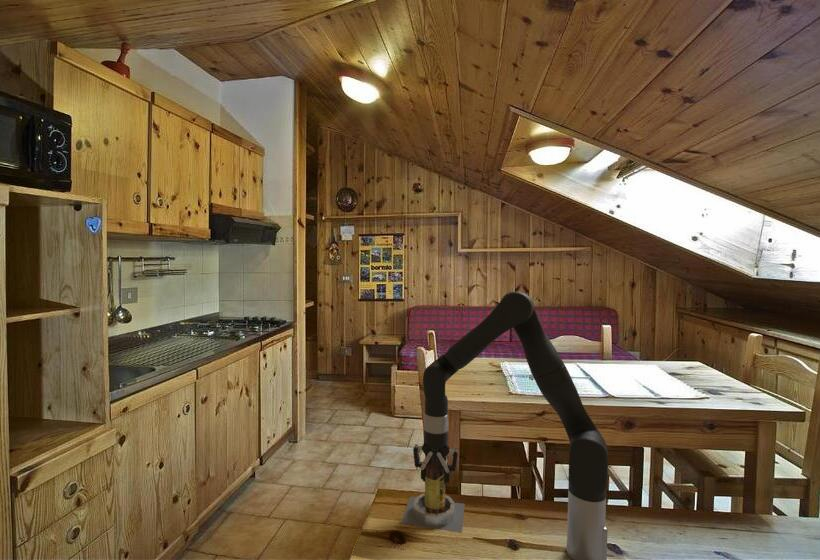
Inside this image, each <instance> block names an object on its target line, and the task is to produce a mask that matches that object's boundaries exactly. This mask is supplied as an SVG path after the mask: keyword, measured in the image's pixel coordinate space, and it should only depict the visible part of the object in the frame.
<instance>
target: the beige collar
mask: <svg viewBox="0 0 820 560" xmlns="http://www.w3.org/2000/svg"><path fill="white" fill-rule="evenodd" d="M415 497H416V498H415V501H414V504H413V514H414V516H415V518H416V519H417V521H419V522H421V523H423V524H424V525H427V526H434V527H439V526H444V525H448V524H449V523H450V522H451V521H453V520H454V514H455V503H456V502H455V501H454V500H453V499H452V498H451V496H448V495H446V494H445V507H447V508H448V510H447V511H446V512H445V513H440V514H432V513H427V512H425V511H423V510H421V509H420V507H422V506H423V505H425V492H423V493H421V494H419V495H418V496H415Z"/></svg>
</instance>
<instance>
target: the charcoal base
mask: <svg viewBox="0 0 820 560" xmlns="http://www.w3.org/2000/svg"><path fill="white" fill-rule="evenodd" d="M416 497H417V496H409V499H408V501H407V505H406V506H405V510H404V512H403V515H402V518H401V521H400V524H402V525H408V526H415V527H422V528H429V529H435V530H442V531H448V532H449V531H450V532H456V533H460V534H461V533H463V528H464V527H463V525H464V515H465V505H466V504H465V503H462V502H461V503H460V502H459V503H458V502H454V503H455V514H454V520H453V521H451V522H450V523H449V524H448V525H444V526H439V527H434V526H427V525H424V524H423V523H421V522H419V521H417V519H416V518H415V516H414V514H413V504H414V501H415V498H416ZM420 509H421V510H423V511H425V512H427V511H426V509H425V505H423V506H422V507H420ZM447 510H448V508H447V507H445V506H444V511H443V512H442V513H445V512H446V511H447ZM427 513H429V512H427Z"/></svg>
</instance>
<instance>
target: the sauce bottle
mask: <svg viewBox="0 0 820 560" xmlns="http://www.w3.org/2000/svg"><path fill="white" fill-rule="evenodd" d="M431 451H433V454H432V458H431V461H430V460H429V461H428V463H427V465H426V474H425V482H424V493H425V509H426V511H427V512H429V513H432V514H440V513H442V512H443V511H444V506H445V495H446V484H445V469H444V467H443V466H442V464H441V462H440V461H439V460H438V456H437V452H438V451H439V448H434V447H431Z"/></svg>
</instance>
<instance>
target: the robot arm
mask: <svg viewBox="0 0 820 560" xmlns="http://www.w3.org/2000/svg"><path fill="white" fill-rule="evenodd" d="M511 329H513V330H514V331H515V333H516V335H517V337H518V339H519V341H520V343H521V346H522V349H523V353H524V356H525V360H526V362H527V365H528V368H529V371H530V373H531V375H532V377H533V379H534V381H535V384H536V386H537V387H538V389H539V391H540V393H541V395H542V396H543V397H544V399H545V400H546V401H547V403H548V404H549V405H550V406H551V408H553V410H554V411H555V413H556V414H557V416H558V417H559V419H560V421H561V423H562V425H563V427H564V430H565V433H566V434H567V438H568V440H569V450H568V479H567V480H568V487H567V488H568V493H567V494H568V495H567V497H568V498H567V522H566V523H567V527H566V528H567V531H566V553H567V555H568V556H569V558H570V559H571V560H607V558H608V528H607V526H606V513H607V512H606V510H607V509H606V508H607V506H606V505H607V504H606V503H607V490H608V477H609V476H608V475H609V473H608V469H609V456H608V447H607V444H606V440H605V438H604V437H603V435H602V434H601V432H600V430H599V429H598V427H597V426H596V425H595V424H594V422H593V420H592V418H591V417H590V415H589V414H588V412H587V410H586V408H585V406H584V405H583V402H582V400H581V397H580V396H581V395H580V394H579V392H578V390H577V387H576V385H575V383H574V381H573V378H572V377H571V374H570V372H569V371H568V369H567V367H566V364H565V363H564V361H563V359H562V357H561V356H560V354H559V352H558V351H557V349H556V347H555V345H553V343H552V341H551V339H550V338H549V337H548V335H547V334H546V332H545V330H544V328H543V326H542V323H541V322H540V319H539V316H538V314H537V311H536V309H535V305H534V302H533V300H532V299H531V297H530V296H529V295H528V294H526V293H525V292H523V291H511V292H508V293H507V294H504V296H503V297H502V298H501V299H500V301H499V302H498V303H497V305H495V307H494V308H493V310H492V311H491V312H490V313H489V314H488V315H487V316H486V317H485V318H484V319H483V320H482V321H481V322H480V323H479V324H477V326H475V327H474V328H473V329H471V330H470V331H469V332H466V334H464V336H462V337H461V338H459V339H458V341H456V342H455V343H454V344H453V345H451V346H450V347H449V348H447V351H446V352H445V353H443V354H442V355H440V357H438V358H437V359H436V360H434V361H433V362H431V363H430V364H429V365H428V366H427V367H426V368H425V370H424V371H423V376H422V386H423V394H424V417H423V444H422V445H418V444H414V446H413V448H412V451H413V460H414V467H416V468H419V469H420V479H421V480H422V482H424V483H425V474H426V465H427V463H428V461H429V460H430V461H431V458H432V454H433V451H431V447H434V448H439V451H438V452H437V456H438V460H439V461H440V462H441V464H442V466H443V467H444V469H445V485H448V484H449V483H450V479H451V472H455V471H456V469H457V463H458V461H457V460H458V456H459V455H458V454H459V448H454V449H453V448H452V449H451V448H450V446H449V414H448V413H449V412H448V411H449V401H448V400H449V399H448V396H447V395H446V383H447V381H449V380H450V379H451V377H453V376H454V375H455V374H456V373H457V372H458V371H459V370H461V369H463V368H465V367H466V366H468V365H469V364H470V363H472V361H474V360H475V359H476V358H477V357H478V356H480V354H482V353H483V352H484V351H485V349H487V348H488V347H489V346H490V345H491V344H492V343H494V341H495V340H496V339H498V338H499V337H500V336H502V335H503V334H505V333H506V332H508V331H510V330H511ZM421 452H422V453H423V454H424V455H425V456H424V458H423V461H421V458H420V454H421ZM449 454H450V457H451V458H452V463H451V464H450V463H449V461H448V458H447V456H448V455H449Z"/></svg>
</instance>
